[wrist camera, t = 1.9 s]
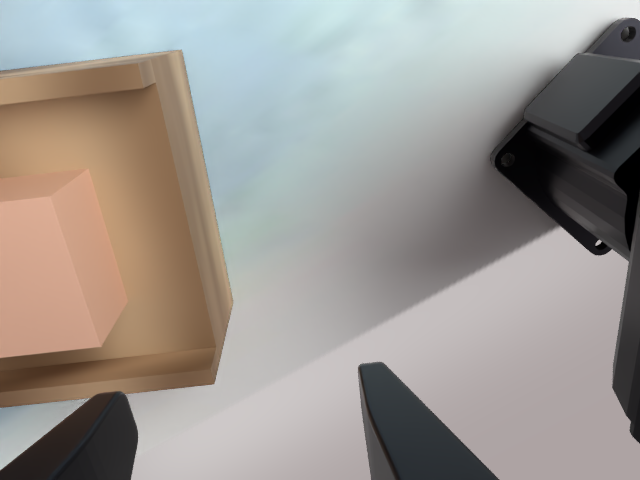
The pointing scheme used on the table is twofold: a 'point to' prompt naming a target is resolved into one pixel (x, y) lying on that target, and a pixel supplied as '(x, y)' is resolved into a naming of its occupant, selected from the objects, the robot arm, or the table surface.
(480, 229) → the table surface
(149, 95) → the wooden box
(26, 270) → the tile
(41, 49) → the table surface
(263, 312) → the table surface
